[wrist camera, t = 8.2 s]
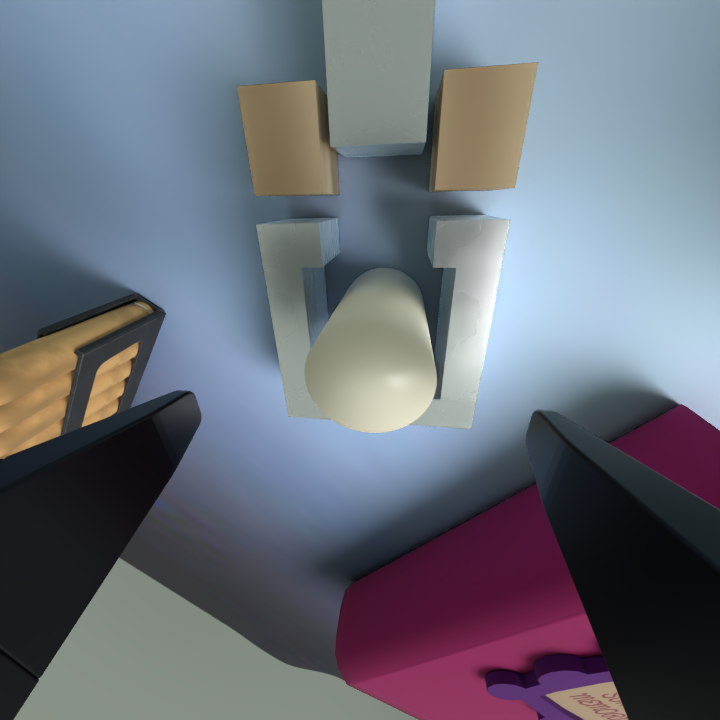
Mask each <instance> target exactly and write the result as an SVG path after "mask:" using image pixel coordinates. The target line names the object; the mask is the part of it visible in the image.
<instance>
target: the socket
mask: <svg viewBox="0 0 720 720" xmlns="http://www.w3.org/2000/svg"><path fill="white" fill-rule="evenodd" d="M509 225H510V220H509V219H504V218H499V217H494V216H489V215H446V216H429V228H428V242H427V254H428V257H429V259H430V262H431V264H432V267H433V268H443V275H442V285H441V295H440V305H439V315H438V325H437V335H436V345H435V355H434V362H435V367H436V374H437V385H436V391H435V394H434V397H433V400H432V402H431V403H430V405H429V407H428V408H427V409H426V411H425V412H424V413H423V414H422V415H421V416H420V417H419V418H418V419H416V420H415V421H414V422H412V423H410V424H409V425H420V426H436V427H451V428H466V429H471V427H472V422H473V416H474V411H475V406H476V400H477V395H478V390H479V384H480V379H481V374H482V368H483V363H484V358H485V352H486V347H487V342H488V336H489V331H490V326H491V320H492V315H493V310H494V304H495V299H496V294H497V288H498V283H499V278H500V272H501V267H502V262H503V256H504V251H505V246H506V241H507V235H508V230H509ZM256 228H257V234H258V240H259V246H260V252H261V258H262V264H263V270H264V276H265V281H266V287H267V293H268V299H269V305H270V311H271V317H272V323H273V329H274V335H275V341H276V347H277V353H278V359H279V365H280V370H281V376H282V382H283V388H284V394H285V400H286V406H287V412H288V417H297V418H313V419H328V420H331V419H330V418H329V417H327V416H326V415H325V414H324V413H323V412H322V411H321V410H320V409H319V408H318V407H317V406H316V404H315V403H314V401H313V400H312V398H311V396H310V394H309V392H308V389H307V386H306V382H305V373H304V370H305V362H306V358H307V355H308V353H309V351H310V349H311V347H312V346H313V344H314V342H315V341H316V339H317V338H318V336H319V334H320V333H321V331H322V330H323V328H324V327H325V325H326V323H327V322H328V320H329V318H328V305H327V292H326V279H325V265H326V264H327V263H329V262H330V261H331V260H332V259H333V258H335V257H336V256H337V255H338V254H339V253H340V242H339V223H338V218H298V219H284V220H278V221H272V222H267V223H261V224H256Z"/></svg>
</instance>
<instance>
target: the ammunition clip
mask: <svg viewBox="0 0 720 720" xmlns="http://www.w3.org/2000/svg"><path fill="white" fill-rule="evenodd" d="M165 315H166V314H165V312H164V311H163V310H161V309H160V308H158V307H157V306H155V305H154V304H152V303H150V302H149V301H147V300H146V299H144V298H143V297H141V296H140V295H138V294H136V293H134V294H131V295H129V296H126V297H124V298H121V299H119V300H116V301H113V302H111V303H108V304H105V305H103V306H100V307H97V308H95V309H92V310H90V311H87V312H84V313H82V314H79V315H76V316H74V317H71V318H68V319H66V320H63V321H61V322H58V323H55V324H53V325H50V326H47V327H45V328H42V329H40V330H39V331H38V335H37V339H36V340H34V341H31V342H29V343H26V344H24V345H21V346H18V347H16V348H13V349H11V350H8V351H6V352H3V353H0V459H4V458H6V457H7V456H9V455H12V454H14V453H17V452H19V451H22V450H25V449H27V448H30V447H32V446H35V445H37V444H40V443H43V442H45V441H48V440H50V439H53V438H55V437H58V436H61V435H63V434H66V433H68V432H71V431H73V430H76V429H79V428H81V427H84V426H86V425H89V424H91V423H94V422H97V421H99V420H102V419H104V418H107V417H109V416H112V415H115V414H117V413H120V412H122V411H125V410H127V409H130V407H131V404H132V402H133V399H134V396H135V394H136V391H137V389H138V386H139V383H140V381H141V378H142V375H143V373H144V370H145V367H146V365H147V362H148V360H149V357H150V354H151V352H152V349H153V346H154V344H155V341H156V338H157V336H158V333H159V331H160V328H161V325H162V323H163V320H164V317H165Z"/></svg>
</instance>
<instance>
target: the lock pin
mask: <svg viewBox="0 0 720 720" xmlns="http://www.w3.org/2000/svg"><path fill="white" fill-rule="evenodd" d="M434 9H435V0H322V10H323V28H324V45H325V62H326V80H327V97H328V114H329V132H330V147H331V148H333V149H334V150H336V151H337V152H338V153H340V154H341V155H343V156H344V157H346V158H356V157H378V156H400V155H421V154H422V152H423V149H424V146H425V144H426V135H427V120H428V104H429V88H430V72H431V56H432V40H433V25H434Z"/></svg>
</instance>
